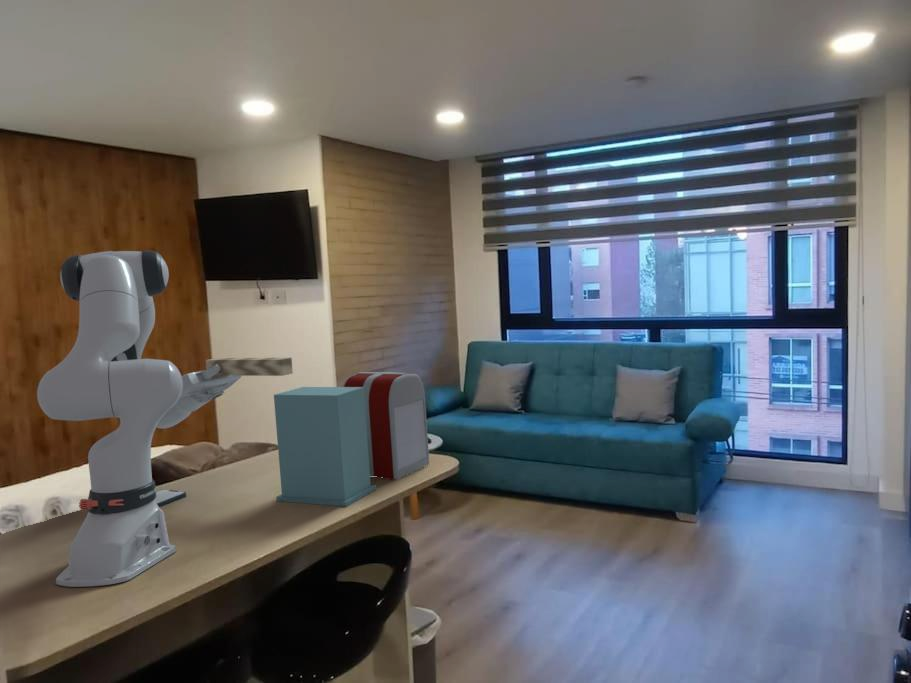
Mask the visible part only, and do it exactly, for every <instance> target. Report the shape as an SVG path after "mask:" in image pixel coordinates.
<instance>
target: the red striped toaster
mask: <svg viewBox="0 0 911 683" xmlns="http://www.w3.org/2000/svg"><path fill="white" fill-rule="evenodd" d="M342 387H364V399H365V413H366V427H367V441H368V456H369V470H370V476H377V477H383V478H389V479H388V480H392V479H393V480H394V479H397V480H399V478H400V479H402V478H404V477H406V476H408V475H407V474H409V475H411V474H413V473H415V472H417V471H416V470H418V469H420V468H422V467H424V466H426V465H428V464H429V465H430V455H429V437H428V422H427V407H426V406H427V405H426V392H425V387H424V382H422V379H421V378H420V376H419V375H418V374H416V373H408V372H395V371H393V372H392V371H382V372H381V371H380V372H379V371H373V372H372V371H360V372H356V374H352V375H350V376H348V377H347V378H346V379H345V381H344V383H343V385H342ZM426 467H427V466H426ZM424 468H425V467H424ZM422 469H423V468H422ZM420 470H421V469H420ZM414 471H415V472H414ZM418 471H419V470H418ZM412 472H413V473H412ZM410 473H411V474H410ZM405 475H406V476H405ZM403 476H404V477H403ZM401 477H402V478H401ZM383 478H382V479H383Z"/></svg>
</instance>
